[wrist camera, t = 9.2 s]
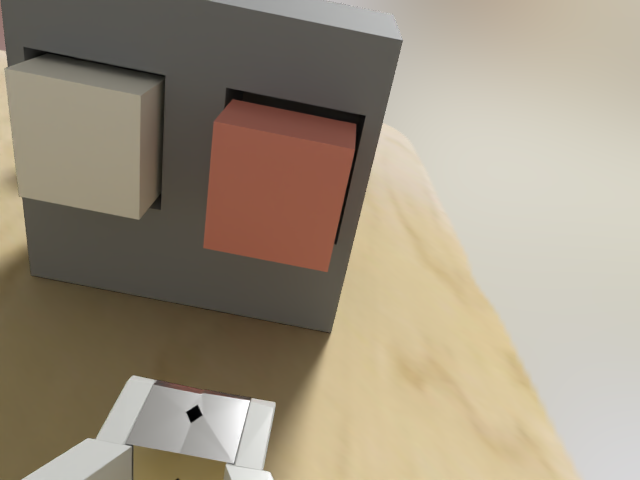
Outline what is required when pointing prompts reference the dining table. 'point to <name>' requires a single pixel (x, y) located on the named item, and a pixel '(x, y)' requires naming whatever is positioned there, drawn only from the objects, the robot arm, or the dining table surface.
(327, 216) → the red key
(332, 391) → the dining table surface
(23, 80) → the ivory key
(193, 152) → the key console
